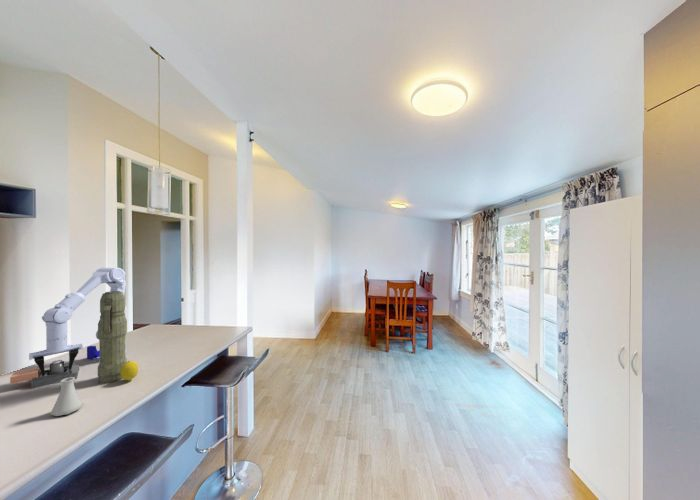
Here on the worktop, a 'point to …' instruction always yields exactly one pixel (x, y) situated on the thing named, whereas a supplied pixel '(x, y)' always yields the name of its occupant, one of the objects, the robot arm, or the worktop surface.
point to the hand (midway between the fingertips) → (57, 371)
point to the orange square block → (25, 375)
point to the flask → (67, 399)
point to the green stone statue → (111, 336)
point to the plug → (56, 367)
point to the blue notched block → (92, 352)
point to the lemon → (129, 370)
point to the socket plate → (54, 377)
